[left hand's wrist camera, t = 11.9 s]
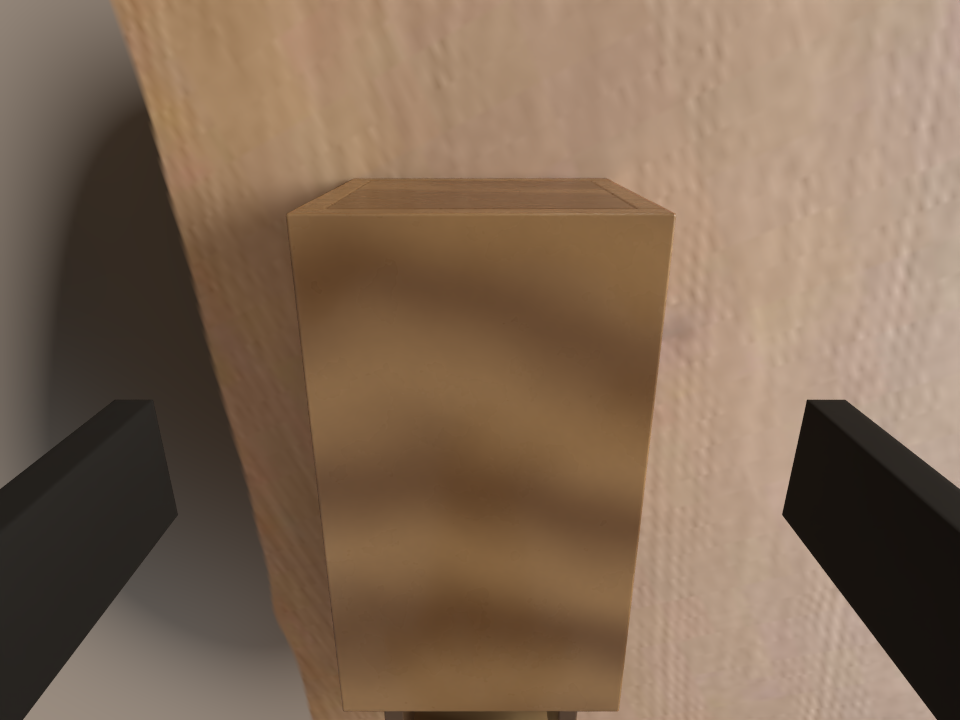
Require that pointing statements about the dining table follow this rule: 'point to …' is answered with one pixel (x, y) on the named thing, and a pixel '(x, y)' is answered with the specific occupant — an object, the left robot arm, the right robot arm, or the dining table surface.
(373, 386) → the cabinet
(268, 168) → the dining table surface
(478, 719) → the drawer
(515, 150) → the dining table surface
